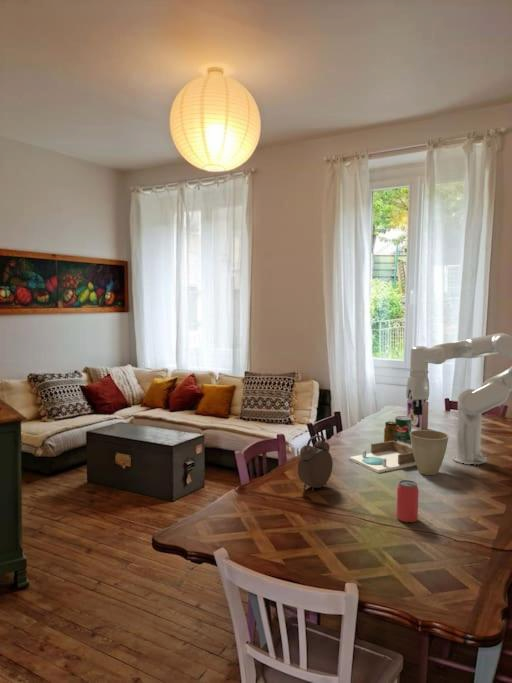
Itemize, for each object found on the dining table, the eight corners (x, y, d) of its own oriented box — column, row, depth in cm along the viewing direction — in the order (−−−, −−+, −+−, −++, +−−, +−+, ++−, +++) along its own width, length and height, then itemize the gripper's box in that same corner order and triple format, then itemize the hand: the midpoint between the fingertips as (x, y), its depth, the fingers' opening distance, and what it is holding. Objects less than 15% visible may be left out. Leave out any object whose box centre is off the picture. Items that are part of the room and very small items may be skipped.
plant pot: (453, 471, 207) (454, 434, 206) (437, 481, 197) (439, 441, 195) (418, 463, 218) (419, 427, 216) (402, 472, 207) (403, 434, 205)
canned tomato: (409, 437, 258) (409, 416, 257) (412, 441, 251) (413, 420, 250) (393, 436, 259) (394, 415, 258) (396, 441, 251) (396, 419, 250)
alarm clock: (318, 480, 198) (319, 430, 196) (333, 485, 193) (334, 434, 191) (294, 490, 188) (294, 437, 186) (309, 495, 183) (309, 441, 181)
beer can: (414, 525, 159) (415, 488, 158) (393, 520, 163) (394, 484, 162) (419, 517, 165) (421, 481, 164) (399, 512, 168) (400, 477, 167)
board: (424, 463, 218) (425, 454, 217) (377, 473, 206) (378, 463, 206) (394, 451, 235) (394, 442, 234) (349, 459, 223) (349, 450, 223)
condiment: (393, 444, 246) (394, 420, 245) (402, 449, 238) (403, 424, 237) (379, 445, 244) (380, 421, 243) (388, 450, 236) (388, 425, 235)
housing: (421, 460, 217) (422, 451, 217) (399, 464, 212) (399, 455, 211) (392, 448, 234) (392, 440, 233) (371, 452, 228) (371, 444, 228)
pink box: (405, 426, 280) (406, 399, 279) (415, 424, 284) (416, 398, 282) (419, 431, 270) (420, 403, 269) (430, 429, 273) (431, 402, 272)
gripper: (425, 371, 232) (424, 411, 233) (399, 374, 225) (398, 414, 226) (437, 374, 225) (436, 414, 227) (412, 376, 218) (410, 418, 220)
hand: (417, 414), depth 227 cm, fingers closed
